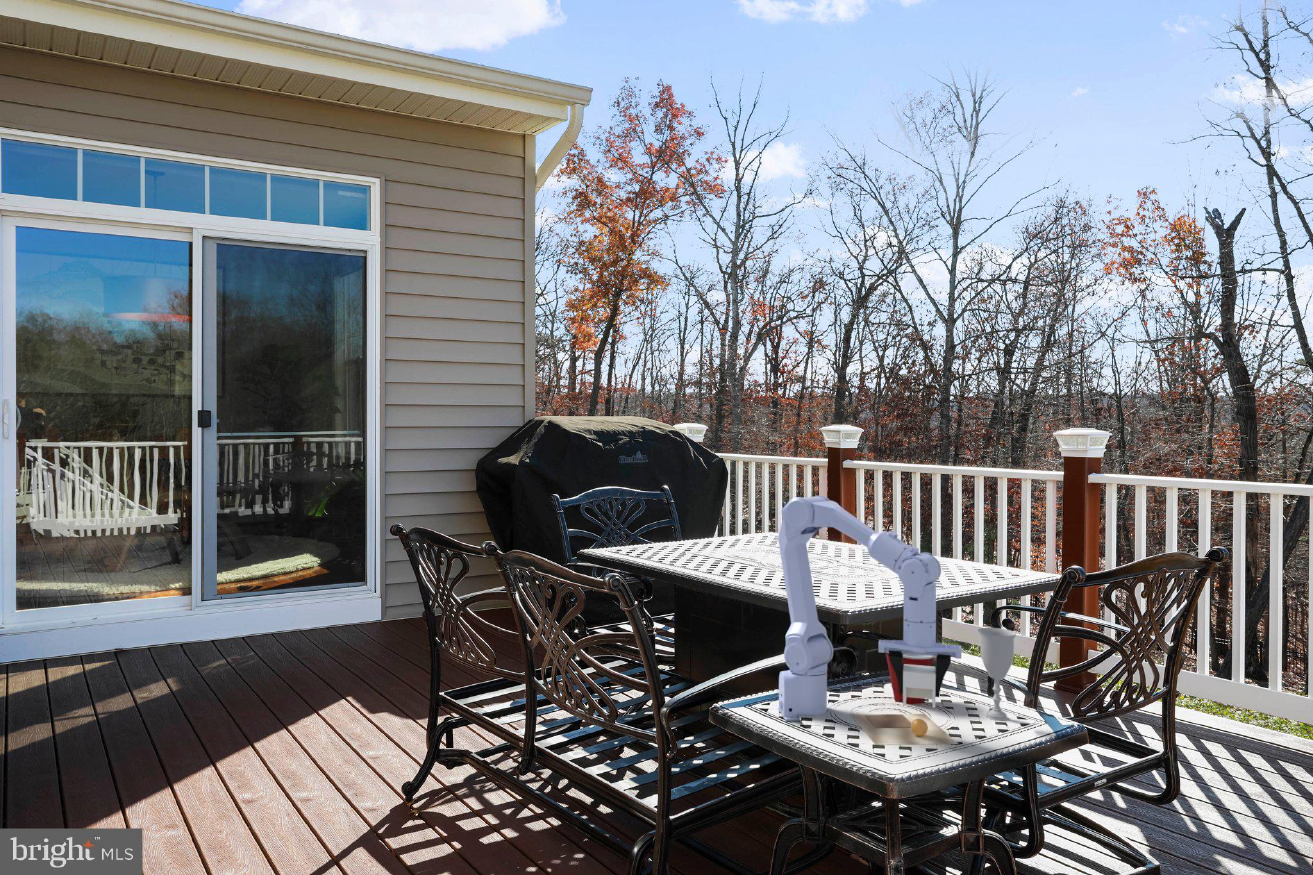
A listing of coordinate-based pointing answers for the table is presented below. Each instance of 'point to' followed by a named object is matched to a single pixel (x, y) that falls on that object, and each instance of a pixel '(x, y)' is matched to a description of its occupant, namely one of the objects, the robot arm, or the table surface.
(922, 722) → the orange marble
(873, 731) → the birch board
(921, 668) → the white tabletop archway
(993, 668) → the chalice
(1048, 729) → the table surface
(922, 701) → the plastic cup
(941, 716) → the table surface
